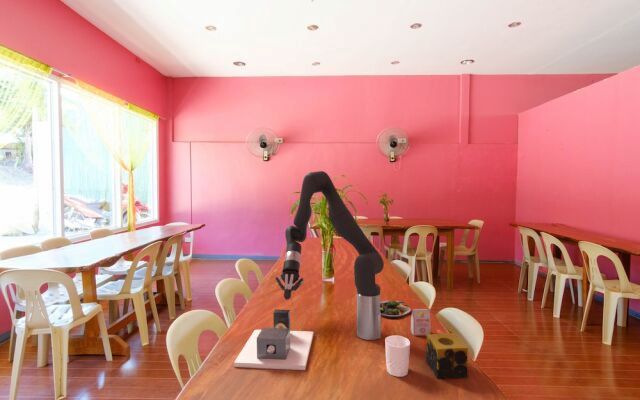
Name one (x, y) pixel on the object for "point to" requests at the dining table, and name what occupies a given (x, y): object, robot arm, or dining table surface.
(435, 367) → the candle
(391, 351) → the white cup
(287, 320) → the shaft
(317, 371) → the dining table surface
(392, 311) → the salad plate
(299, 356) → the base board
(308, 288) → the dining table surface
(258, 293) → the dining table surface
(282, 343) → the block
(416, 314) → the white cardboard box
